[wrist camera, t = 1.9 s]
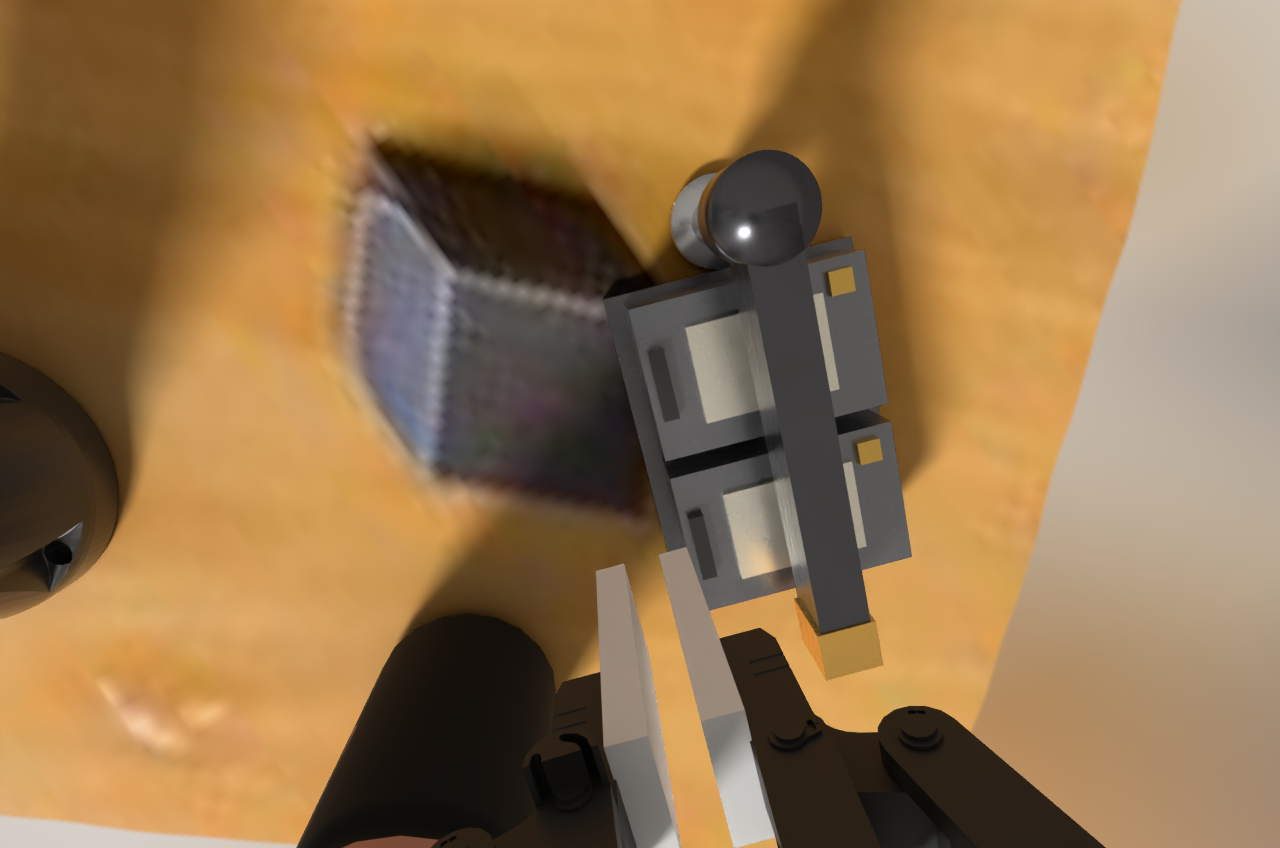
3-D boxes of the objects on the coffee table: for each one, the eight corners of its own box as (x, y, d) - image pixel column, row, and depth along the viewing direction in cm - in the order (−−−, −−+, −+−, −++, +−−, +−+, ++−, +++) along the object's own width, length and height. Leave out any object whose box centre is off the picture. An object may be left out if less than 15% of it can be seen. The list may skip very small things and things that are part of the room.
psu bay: (675, 582, 43) (689, 630, 37) (602, 298, 38) (606, 306, 33) (891, 525, 43) (935, 564, 37) (844, 236, 38) (887, 234, 33)
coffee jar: (359, 630, 42) (199, 901, 24) (529, 584, 42) (491, 820, 24) (417, 771, 44) (310, 1107, 27) (576, 728, 44) (572, 1032, 27)
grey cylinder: (680, 278, 38) (702, 284, 31) (660, 186, 37) (678, 171, 30) (767, 256, 38) (808, 257, 31) (749, 164, 37) (788, 143, 30)
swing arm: (687, 175, 30) (701, 165, 26) (785, 151, 30) (812, 137, 26) (787, 642, 36) (809, 684, 32) (868, 621, 36) (899, 661, 32)
